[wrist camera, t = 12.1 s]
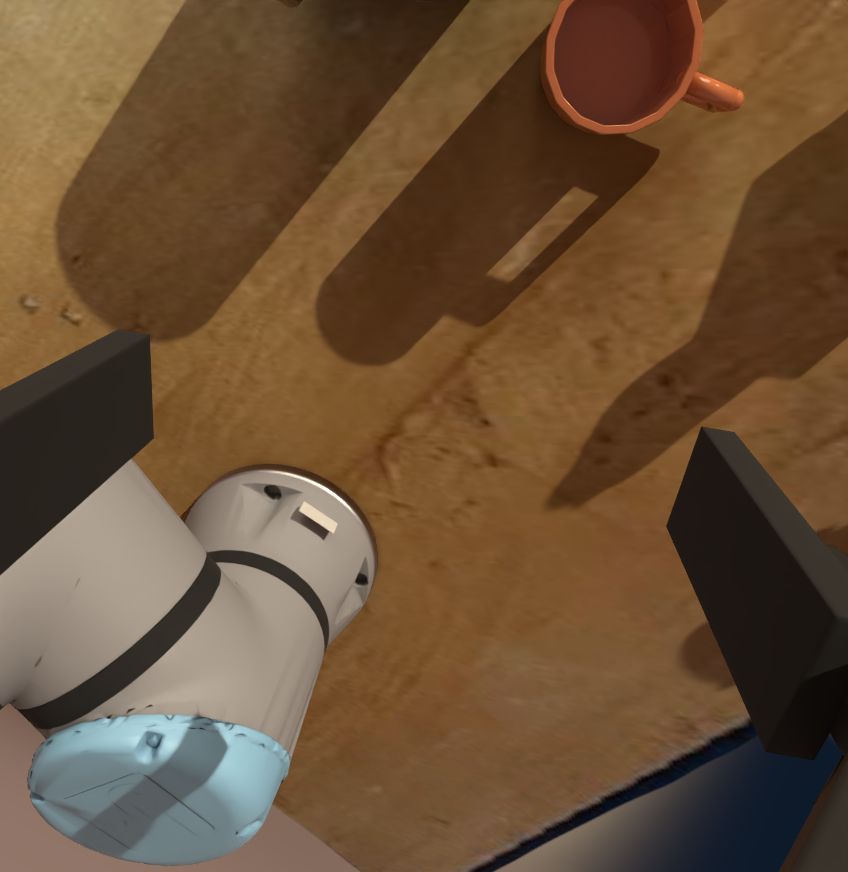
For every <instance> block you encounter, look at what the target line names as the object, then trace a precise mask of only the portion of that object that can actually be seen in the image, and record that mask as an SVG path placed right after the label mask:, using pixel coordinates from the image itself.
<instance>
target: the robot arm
mask: <svg viewBox="0 0 848 872" xmlns="http://www.w3.org/2000/svg"><path fill="white" fill-rule="evenodd" d="M152 439H154V434H153V408H152V382H151V356H150V335H149V334H143V333H137V332H131V331H125V330H119V329H118V330H116V331H114V332H112V333H110V334H108V335H107V336H105V337H103V338H101V339H99V340H97V341H95V342H93V343H91V344H89V345H87V346H85V347H83V348H81V349H80V350H78V351H76V352H74V353H72V354H70V355H68V356H66V357H64V358H62V359H60V360H58V361H56V362H55V363H53V364H51V365H49V366H47V367H45V368H43V369H41V370H39V371H37V372H35V373H33V374H31V375H29V376H28V377H26V378H24V379H22V380H20V381H18V382H16V383H14V384H12V385H10V386H8V387H6V388H4V389H3V390H1V391H0V709H2V708H3V707H4V706H5V705H7V704H9V703H10V704H11V705H12V706H13V707H14V708H15V709H17V710H18V711H19V712H20V713H21V714H22V715H23V716H24V717H25V718H26V719H27V720H28V721H29V722H31V724H32V725H33V726H34V727H35V728H36V729H37V730H38V731H39V732H40V733H41V734H42V735H43V736H44V737H45V738H46V741H45V742H44V743H42V744H41V745H40V746H39V747H38V748H37V750H36V752H35V754H34V758H33V759H32V765H31V767H30V770H29V773H28V777H27V782H28V789H29V790H30V791H31V795H30V798H31V801H32V803H33V805H34V807H35V809H36V810H37V811H38V813H39V814H40V815H41V816H42V817H43V819H44V820H45V821H46V822H47V823H48V824H49V825H51V826H52V827H53V828H54V829H55V830H57V831H58V832H60V833H61V834H63V835H64V836H66V837H67V838H69V839H71V840H73V841H74V842H76V843H78V844H80V845H82V846H84V847H86V848H88V849H90V850H94V851H97V852H99V853H102V854H104V855H107V856H111V857H114V858H117V859H121V860H126V861H130V862H138V863H144V864H150V865H162V866H178V865H191V864H196V863H202V862H206V861H210V860H214V859H217V858H220V857H222V856H225V855H227V854H229V853H231V852H233V851H235V850H237V849H238V848H240V847H241V846H243V845H244V844H245V843H246V842H248V841H249V840H250V839H251V838H252V837H253V836H254V835H255V834H256V833H257V831H258V830H259V829H260V827H261V826H262V824H263V823H264V821H265V819H266V817H267V815H268V812H269V810H270V808H271V805H272V803H273V800H274V798H275V796H276V793H277V791H278V788H279V786H280V784H281V783H282V782H283V780H284V779H285V778H286V776H287V774H288V769H289V767H290V761H291V758H292V755H293V752H294V748H295V745H296V742H297V739H298V736H299V733H300V730H301V726H302V723H303V720H304V717H305V714H306V711H307V708H308V705H309V701H310V698H311V695H312V692H313V689H314V686H315V683H316V679H317V676H318V673H319V670H320V667H321V664H322V660H323V657H324V654H325V651H326V648H327V647H328V646H329V645H330V644H331V642H332V641H333V640H334V639H335V638H336V637H337V636H338V635H339V634H340V633H341V632H342V631H343V629H344V628H345V627H346V626H347V625H348V624H349V623H350V622H351V621H352V620H353V619H354V618H355V616H356V615H357V614H358V613H359V611H360V610H361V609H362V607H363V605H364V603H365V602H366V600H367V598H368V596H369V594H370V592H371V589H372V586H373V583H374V579H375V576H376V572H377V565H378V551H377V544H376V540H375V536H374V534H373V531H372V528H371V526H370V524H369V522H368V520H367V519H366V517H365V515H364V514H363V512H362V511H361V510H360V508H359V507H358V506H357V505H356V504H355V502H354V501H353V500H352V499H351V498H350V497H349V496H348V495H347V494H346V493H344V492H343V491H342V490H341V489H339V488H338V487H337V486H335V485H334V484H332V483H331V482H329V481H327V480H326V479H324V478H322V477H320V476H318V475H316V474H313V473H311V472H308V471H305V470H303V469H299V468H295V467H291V466H285V465H276V464H261V465H252V466H247V467H243V468H240V469H236V470H234V471H231V472H229V473H227V474H225V475H223V476H222V477H220V478H219V479H217V480H216V481H214V482H213V483H212V484H211V485H210V486H209V487H208V488H207V489H206V490H205V491H204V492H203V494H202V495H201V496H200V497H199V498H198V500H197V501H196V502H195V504H194V505H193V507H192V508H191V510H190V512H189V514H188V516H187V518H186V520H185V523H184V522H183V521H182V520H181V519H180V517H179V516H178V515H177V514H176V512H175V511H174V510H173V509H172V507H171V506H170V505H169V504H168V502H167V501H166V500H165V499H164V498H163V496H162V495H161V494H160V493H159V491H158V490H157V489H156V488H155V486H154V485H153V484H152V483H151V481H150V480H149V479H148V478H147V477H146V475H145V474H144V473H143V472H142V470H141V469H140V468H139V467H138V465H137V464H136V463H135V462H134V460H133V459H132V457H133V456H135V455H136V454H137V453H138V452H139V451H140V450H141V449H142V448H144V447H145V446H146V445H147V444H148V443H149V442H150V441H151V440H152ZM666 527H667V529H668V531H669V534H670V536H671V538H672V540H673V543H674V545H675V547H676V549H677V552H678V554H679V556H680V559H681V561H682V563H683V565H684V568H685V570H686V572H687V574H688V577H689V579H690V581H691V584H692V586H693V588H694V590H695V593H696V595H697V597H698V599H699V602H700V604H701V606H702V609H703V611H704V613H705V615H706V618H707V620H708V622H709V624H710V627H711V629H712V631H713V634H714V636H715V638H716V640H717V643H718V645H719V647H720V649H721V652H722V654H723V656H724V659H725V661H726V663H727V665H728V668H729V670H730V672H731V674H732V677H733V679H734V681H735V684H736V686H737V688H738V690H739V693H740V695H741V697H742V699H743V702H744V704H745V706H746V709H747V711H748V713H749V715H750V718H751V720H752V722H753V724H754V727H755V729H756V731H757V734H758V736H759V738H760V740H761V743H762V745H763V747H764V749H765V751H766V752H771V753H776V754H782V755H787V756H793V757H799V758H804V759H809V760H814V759H815V758H816V756H817V754H818V752H819V751H820V749H821V747H822V745H823V743H824V742H825V740H826V738H827V736H828V734H829V733H831V735H832V737H833V738H834V740H835V742H836V743H837V745H838V747H839V749H840V751H841V753H842V754H843V755H842V757H841V758H840V760H839V762H838V763H837V765H836V767H835V768H834V770H833V772H832V773H831V775H830V777H829V778H828V780H827V782H826V784H825V785H824V787H823V789H822V790H821V792H820V794H819V795H818V797H817V799H816V801H815V802H814V807H813V809H812V811H811V813H810V815H809V817H808V819H807V821H806V822H805V824H804V826H803V828H802V830H801V832H800V834H799V835H798V837H797V840H796V841H795V843H794V845H793V847H792V849H791V850H790V852H789V854H788V856H787V858H786V860H785V862H784V863H783V866H782V867H781V869H780V871H779V872H848V555H846V554H845V553H844V552H842V551H841V550H839V549H838V548H837V547H835V546H829V545H825V544H824V542H823V541H822V540H821V539H820V538H819V536H818V535H817V534H816V533H815V531H814V530H813V529H812V528H811V526H810V525H809V524H808V523H807V521H806V520H805V519H804V518H803V516H802V515H801V514H800V513H799V512H798V510H797V509H796V508H795V507H794V505H793V504H792V503H791V502H790V500H789V499H788V498H787V497H786V495H785V494H784V493H783V492H782V490H781V489H780V488H779V487H778V486H777V484H776V483H775V482H774V481H773V479H772V478H771V477H770V476H769V474H768V473H767V472H766V471H765V469H764V468H763V467H762V466H761V464H760V463H759V462H758V461H757V460H756V458H755V457H754V456H753V455H752V453H751V452H750V451H749V450H748V448H747V447H746V446H745V445H744V443H743V442H742V441H741V440H740V438H739V437H738V436H737V435H736V433H735V432H730V431H724V430H718V429H712V428H706V427H701V429H700V432H699V435H698V438H697V441H696V443H695V446H694V449H693V452H692V455H691V458H690V460H689V463H688V466H687V469H686V472H685V475H684V477H683V480H682V483H681V486H680V489H679V492H678V494H677V497H676V500H675V503H674V506H673V509H672V512H671V514H670V517H669V520H668V523H667V526H666Z"/></svg>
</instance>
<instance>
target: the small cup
mask: <svg viewBox="0 0 848 872" xmlns="http://www.w3.org/2000/svg"><path fill="white" fill-rule="evenodd" d="M703 30H704V29H703V23H702V19H701V16H700V12H699V8H698V4H697V0H563V1H562V2H561V3H560V5H559V6H558V9H557V11H556V13H555V15H554V17H553V20H552V22H551V25H550V27H549V30H548V33H547V35H546V38H545V41H544V43H543V46H542V49H541V63H540V69H541V76H540V78H541V82H542V85H543V89H544V92H545V95H546V97H547V99H548V102H549V105H550V106H551V107H552V108H553V110H554V111H555V112H556V113H557V115H558V116H559V117H561V118H562V119H563V120H564V121H565V122H566V124H568V125H570V126H573V127H575V128H577V129H579V130H582V131H585V132H587V133H590V134H601V135H606V134H627V133H633V132H635V131H638V130H640V129H642V128H644V127H646V126H648V125H650V124H652V123H654V122H657V121H659V120H660V119H662V118H663V117H664V116H665V115H666V114H667V112H668V111H669V110H670V109H671V108H672V107H673V106H674V105H675V104H676V103H677V102H678V101H679V100H682V101H685V102H687V103H690V104H692V105H695V106H697V107H699V108H702V109H704V110H707V111H709V112H713V113H714V112H728V111H735V110H737V109H738V108H740V107H741V105H742V104H743V101H744V94H743V92H742V91H741V90H739V89H737V88H734V87H732V86H730V85H727V84H725V83H722V82H720V81H718V80H715V79H713V78H710V77H708V76H706V75H703V74H701V73H698V72H696V70H697V68H698V66H699V63H700V57H701V48H702V39H703Z"/></svg>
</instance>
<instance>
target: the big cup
mask: <svg viewBox="0 0 848 872" xmlns="http://www.w3.org/2000/svg"><path fill="white" fill-rule="evenodd" d="M276 1H278V2H280V3H282V4H283V5H285V6H287V7H289V8H295V7H297V6H298V5H300V3H301V2H302V1H303V0H276ZM409 1H433V0H409Z"/></svg>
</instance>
